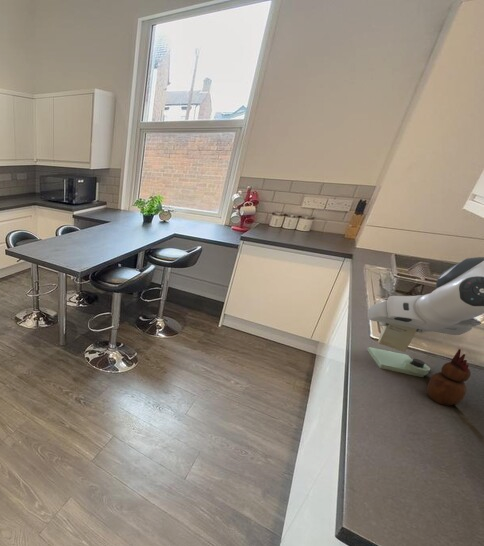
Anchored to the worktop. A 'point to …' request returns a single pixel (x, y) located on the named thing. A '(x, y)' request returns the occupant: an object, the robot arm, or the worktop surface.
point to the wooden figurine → (450, 381)
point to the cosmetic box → (397, 336)
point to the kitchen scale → (397, 362)
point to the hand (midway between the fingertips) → (399, 326)
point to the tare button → (417, 363)
